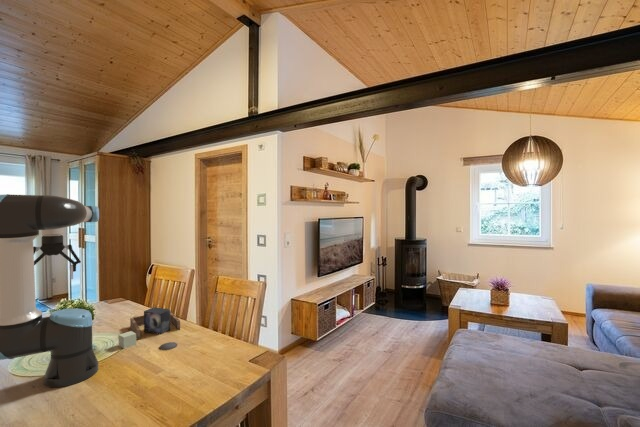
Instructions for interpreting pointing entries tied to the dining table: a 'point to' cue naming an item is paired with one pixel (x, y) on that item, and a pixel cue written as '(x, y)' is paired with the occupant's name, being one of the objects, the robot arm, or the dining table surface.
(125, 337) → the sage cube
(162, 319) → the small box
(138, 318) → the brown u-shaped wall
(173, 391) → the dining table surface
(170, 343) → the coaster
